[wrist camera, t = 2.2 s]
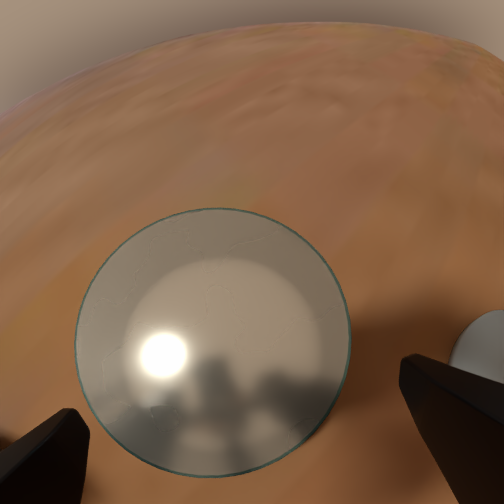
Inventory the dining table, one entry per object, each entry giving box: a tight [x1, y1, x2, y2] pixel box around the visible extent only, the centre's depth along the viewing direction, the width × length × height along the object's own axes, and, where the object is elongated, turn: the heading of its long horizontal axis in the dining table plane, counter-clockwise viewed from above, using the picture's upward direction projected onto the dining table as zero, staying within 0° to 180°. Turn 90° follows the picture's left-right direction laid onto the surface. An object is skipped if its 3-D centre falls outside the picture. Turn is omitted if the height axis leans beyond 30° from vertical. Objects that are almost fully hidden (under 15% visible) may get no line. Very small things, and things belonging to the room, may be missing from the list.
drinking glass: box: [74, 208, 352, 478], centre depth 9 cm, size 5×5×9 cm
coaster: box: [448, 310, 504, 384], centre depth 13 cm, size 9×9×1 cm
